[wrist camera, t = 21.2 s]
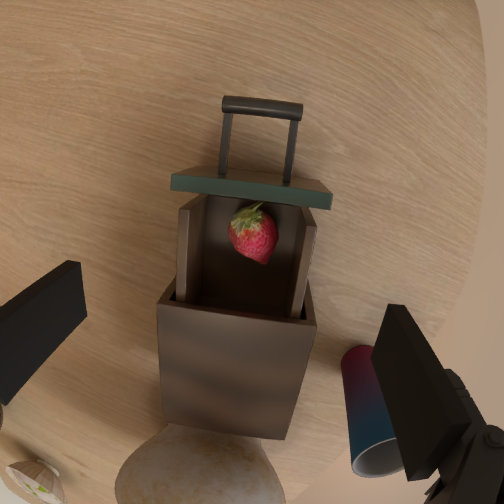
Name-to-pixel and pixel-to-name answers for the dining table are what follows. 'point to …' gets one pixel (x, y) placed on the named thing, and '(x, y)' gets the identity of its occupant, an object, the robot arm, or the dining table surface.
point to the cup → (368, 418)
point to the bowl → (38, 481)
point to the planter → (1, 416)
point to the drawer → (219, 216)
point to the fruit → (253, 233)
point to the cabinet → (231, 366)
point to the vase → (198, 470)
